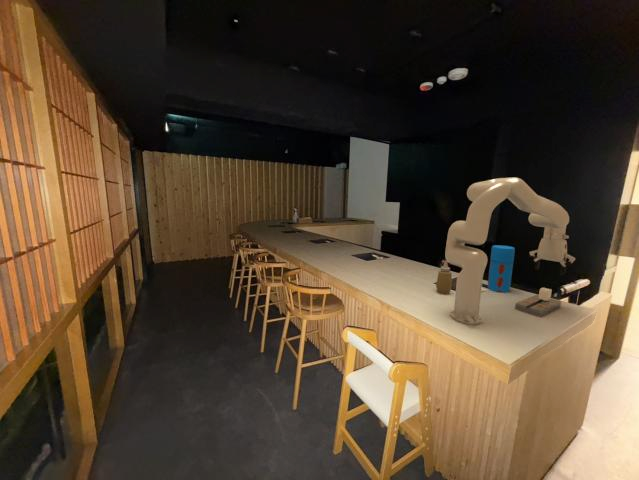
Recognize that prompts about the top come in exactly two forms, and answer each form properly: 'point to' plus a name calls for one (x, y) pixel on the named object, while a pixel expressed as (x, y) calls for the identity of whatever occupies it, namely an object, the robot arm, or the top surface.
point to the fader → (545, 294)
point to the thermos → (501, 268)
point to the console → (537, 306)
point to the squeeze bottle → (444, 280)
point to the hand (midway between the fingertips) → (548, 271)
